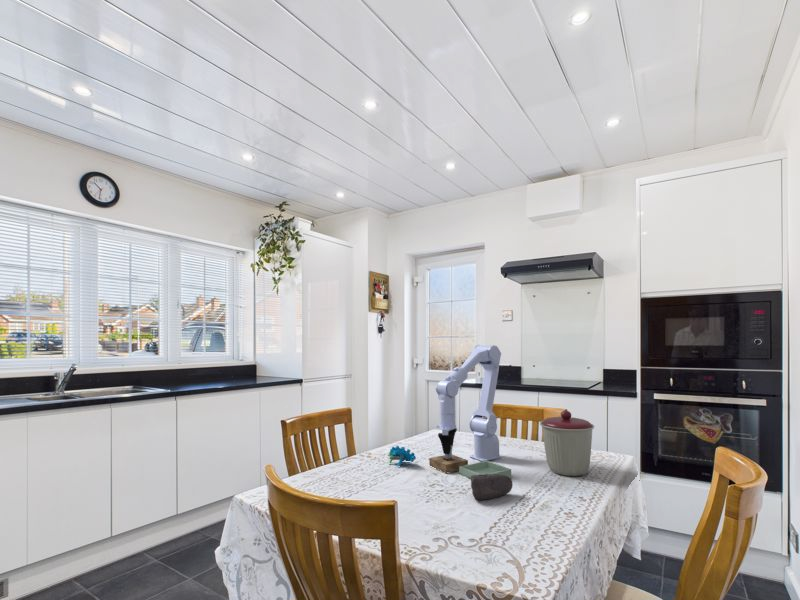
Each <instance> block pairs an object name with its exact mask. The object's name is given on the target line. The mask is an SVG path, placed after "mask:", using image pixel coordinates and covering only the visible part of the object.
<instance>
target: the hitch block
mask: <svg viewBox="0 0 800 600" xmlns="http://www.w3.org/2000/svg"><path fill="white" fill-rule="evenodd" d="M428 459H429V461H428V462H429V463H428V464H429V465H430V466H432V467H434V468H436V469H435V470H437V469H439V470H441V471H443V472H445V473H444V474H448V473H447V472H451V473H454V472H453V471H456V472H458V471H457V470H459V467H460V466H465V465H469V460H468V459H465V458H463V457H461V456H457V455H455V454H452V460H451V461H446V460H445V454H443V455H438V456H433V457H429V458H428ZM430 466H429V467H430ZM432 467H431V468H432ZM434 468H433V469H434ZM439 470H438V471H439ZM441 471H440V472H441ZM443 472H442V473H443Z"/></svg>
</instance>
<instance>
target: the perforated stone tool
mask: <svg viewBox="0 0 800 600" xmlns="http://www.w3.org/2000/svg"><path fill="white" fill-rule="evenodd" d="M470 487H471V488H470V489H472V493H471V494H472V497H474V498H473V499H474V500H476V501H477V500H478V501H479V500H484V501H485V500H492V499H496V498H500V497H503V496H505V495H507V494H509V493H510V492H511V490H512V489H513V480H512V478H511V477H507V476H505V475H501V474H484V475H481V474H480V475H473V476H471V479H470Z"/></svg>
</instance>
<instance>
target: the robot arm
mask: <svg viewBox="0 0 800 600" xmlns="http://www.w3.org/2000/svg"><path fill="white" fill-rule="evenodd" d="M470 351H471V352H470V353H471V354H470V355H469V356H468V357H467V358H466V360H465V361H464V362H463V363H462V364H461V366H457V367H454V368H453V369H452V371H451V372H450V374H448V375H447V376H446V377H445V378H444V379H442V380H440V381H439V382H438V383H437V384H436V388H435V392H436V393H437V395H438V398H437V399H438V400H439V424H436V428H439V429H440V430H441V432H439V433H437V437H438V438H439V441H440V444H441V449H442V453H443V455H445V454H450V450H451V445H452V448H453V446H454V441H455V436H456V432H457V430H458V428H457V424H456V396H457V395H458V394H459V389H460V387H461V385H462V384H463V383H464V382H465V381H466V380H467V379H468V377H469V376H468V373H469V372H471V371H472V370H473V369H474V367H476V366H477V365H478V364H479V365H480V366H481V367H483V369H484V374H483V380H482V386H481V392H480V396H479V397H480V398H479V403H478V408H477V409H475V410H474V411H473V412H472V416H471V418H470V420H469V424H468V425H469V429H470V431H471V432H472V435H473V441H474V442H473V443H474V445H473V446H474V447H473V448H474V454H472V455H470V456H469V457H470V458H473V459H475V460H478V461H480V462H484V461H493V460H497V459H498V460H499V459H501V458H502V456H500V440H499V437H498V436H497V434H495V433H496V432H497V429H498V424H497V419H498V418H497V416H496V414H495V413H494V412H493V408H494V402H495V397H496V396H495V395H496V390H497V389H496V388H497V383H498V377H499V372H500V371H499V369H500V362H501V355H502V352H501V350H500V348H499V347H498V346H497V345H481V344H477V345H475V346H474V347H473V348H472V349H471V350H470Z"/></svg>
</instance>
